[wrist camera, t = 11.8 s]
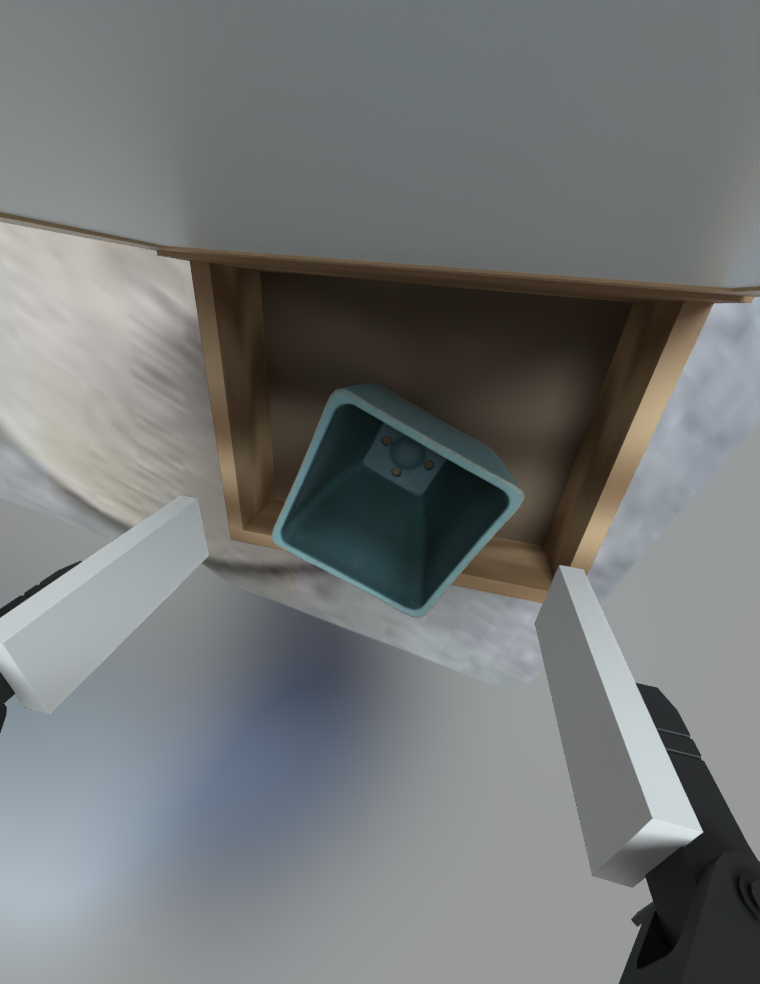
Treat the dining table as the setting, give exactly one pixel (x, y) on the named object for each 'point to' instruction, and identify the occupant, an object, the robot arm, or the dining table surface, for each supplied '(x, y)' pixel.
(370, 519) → the flower pot
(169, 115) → the lid
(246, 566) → the dining table surface
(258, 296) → the cold frame
